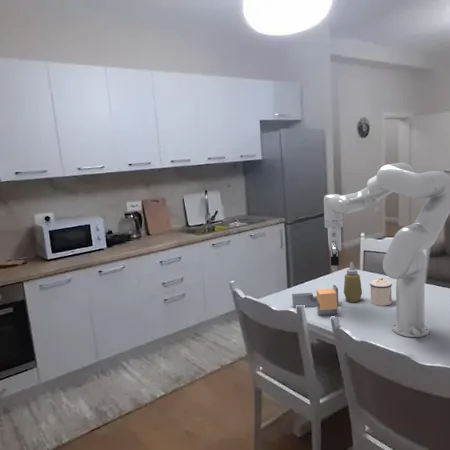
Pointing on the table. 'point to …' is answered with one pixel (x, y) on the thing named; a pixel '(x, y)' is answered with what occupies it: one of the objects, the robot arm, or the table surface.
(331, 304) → the block
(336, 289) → the rail
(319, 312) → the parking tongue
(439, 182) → the robot arm
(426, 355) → the table surface
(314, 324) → the table surface
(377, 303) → the teacup with lid
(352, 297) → the squeeze bottle
